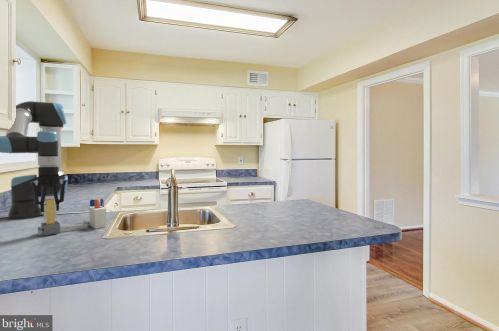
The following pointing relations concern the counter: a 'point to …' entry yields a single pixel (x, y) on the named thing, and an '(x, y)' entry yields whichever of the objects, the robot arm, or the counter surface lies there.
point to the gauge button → (97, 203)
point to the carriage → (50, 219)
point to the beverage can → (93, 202)
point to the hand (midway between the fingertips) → (50, 218)
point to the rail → (67, 228)
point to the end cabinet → (97, 217)
